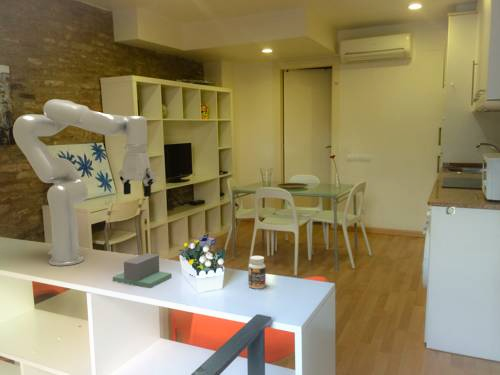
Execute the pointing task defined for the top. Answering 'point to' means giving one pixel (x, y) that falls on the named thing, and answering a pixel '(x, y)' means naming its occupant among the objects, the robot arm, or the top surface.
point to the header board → (145, 279)
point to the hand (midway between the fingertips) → (137, 195)
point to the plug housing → (141, 267)
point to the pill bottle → (256, 272)
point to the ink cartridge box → (205, 239)
